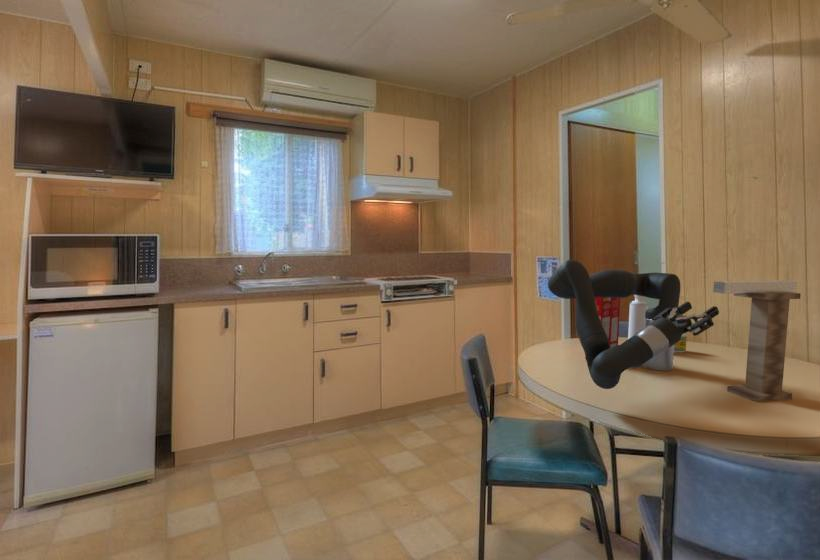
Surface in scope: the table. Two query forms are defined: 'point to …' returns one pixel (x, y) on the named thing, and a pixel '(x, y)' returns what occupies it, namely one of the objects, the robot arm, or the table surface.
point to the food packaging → (609, 317)
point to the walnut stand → (766, 347)
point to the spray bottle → (637, 315)
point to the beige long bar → (754, 286)
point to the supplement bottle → (681, 344)
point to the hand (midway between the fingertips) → (703, 306)
